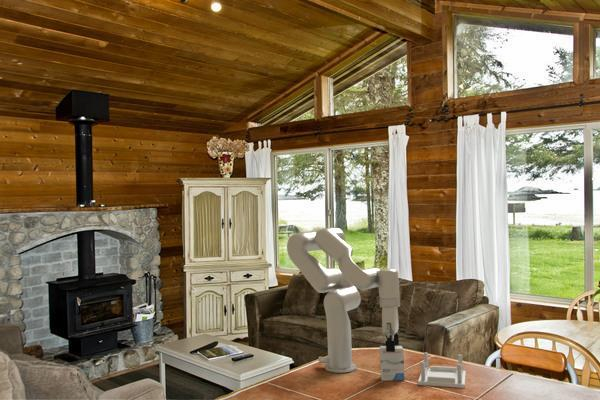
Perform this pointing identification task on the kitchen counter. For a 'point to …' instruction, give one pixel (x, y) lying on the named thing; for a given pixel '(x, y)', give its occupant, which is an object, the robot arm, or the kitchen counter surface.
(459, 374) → the tray
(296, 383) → the kitchen counter surface
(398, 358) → the ink box
